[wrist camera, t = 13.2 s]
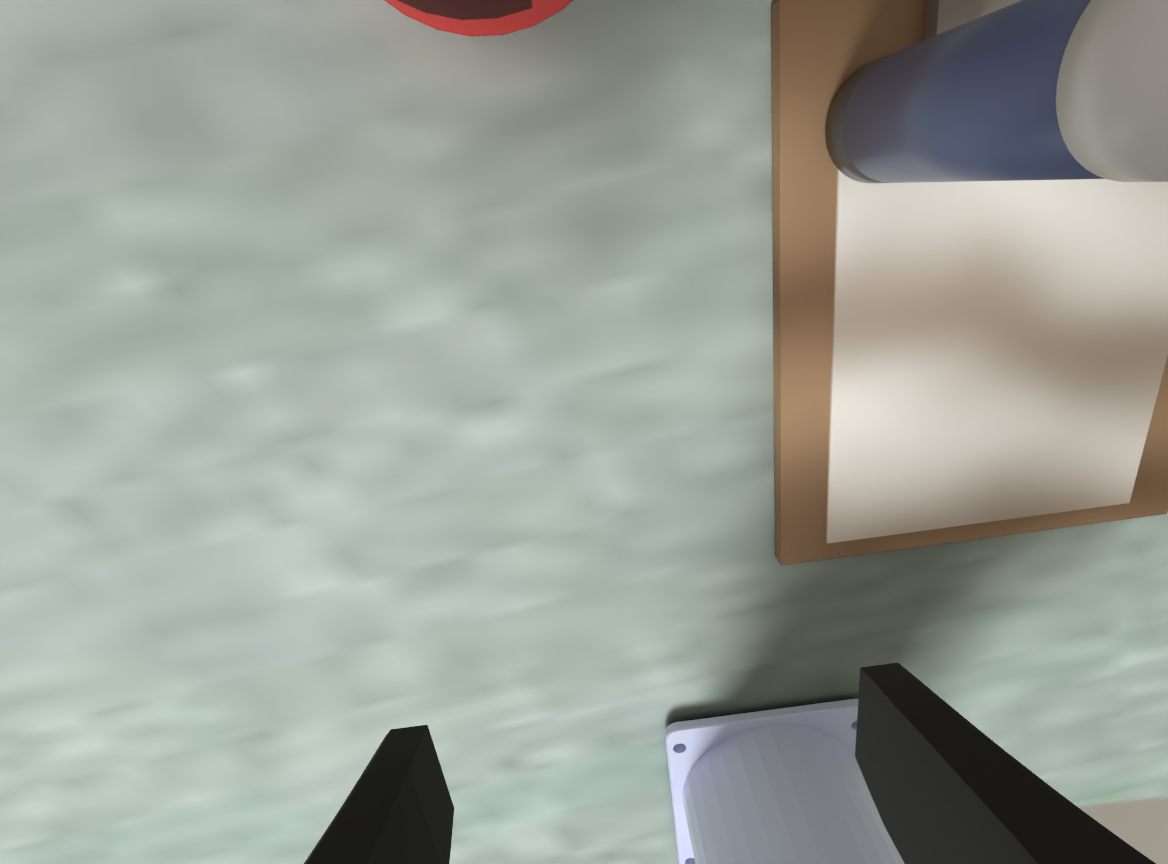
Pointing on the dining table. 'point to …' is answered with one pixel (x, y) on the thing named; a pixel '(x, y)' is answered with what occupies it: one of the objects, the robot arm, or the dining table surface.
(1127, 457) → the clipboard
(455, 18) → the canned food
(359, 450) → the dining table surface
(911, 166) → the blue cylindrical bottle
